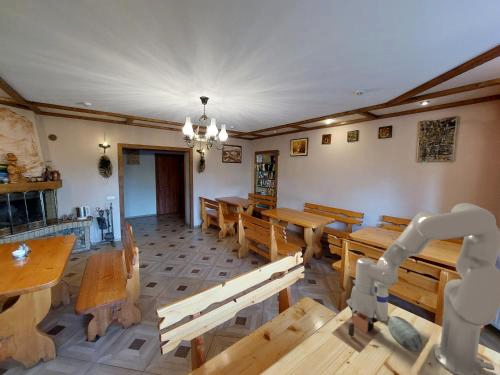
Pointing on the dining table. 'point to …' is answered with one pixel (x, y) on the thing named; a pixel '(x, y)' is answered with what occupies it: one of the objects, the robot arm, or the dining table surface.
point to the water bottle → (382, 299)
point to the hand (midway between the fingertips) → (362, 324)
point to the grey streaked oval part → (404, 333)
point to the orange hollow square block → (360, 321)
